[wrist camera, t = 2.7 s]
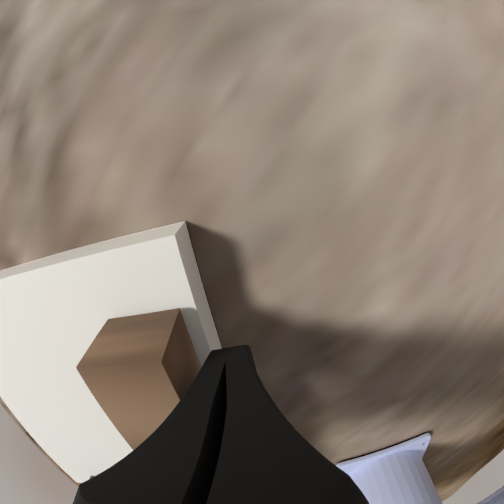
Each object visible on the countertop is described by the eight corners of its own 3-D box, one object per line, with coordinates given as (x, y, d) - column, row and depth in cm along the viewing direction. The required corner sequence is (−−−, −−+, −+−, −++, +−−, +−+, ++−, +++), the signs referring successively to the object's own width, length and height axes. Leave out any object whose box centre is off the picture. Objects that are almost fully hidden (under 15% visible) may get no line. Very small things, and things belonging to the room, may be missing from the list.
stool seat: (265, 468, 18) (269, 520, 13) (82, 465, 18) (68, 503, 14) (185, 220, 12) (154, 261, 7) (-37, 282, 12) (-80, 313, 8)
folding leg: (256, 481, 15) (258, 521, 12) (203, 485, 15) (200, 523, 12) (185, 307, 10) (168, 361, 7) (103, 319, 10) (71, 367, 8)
